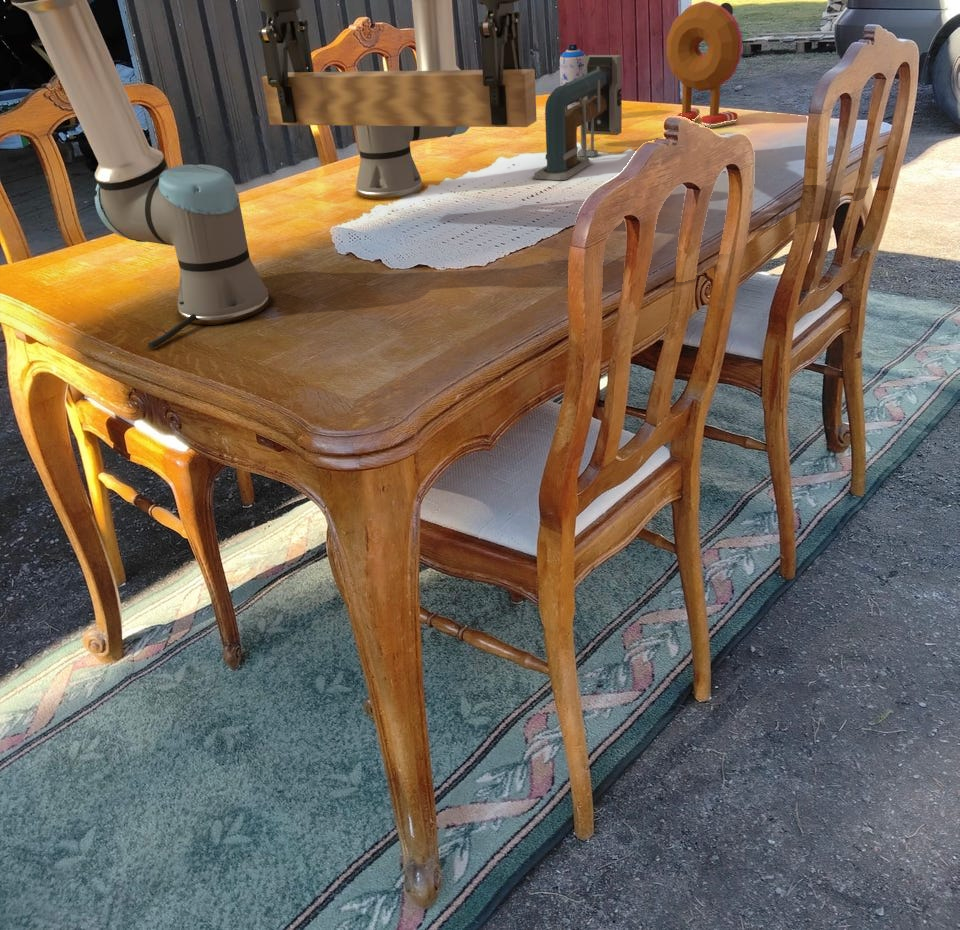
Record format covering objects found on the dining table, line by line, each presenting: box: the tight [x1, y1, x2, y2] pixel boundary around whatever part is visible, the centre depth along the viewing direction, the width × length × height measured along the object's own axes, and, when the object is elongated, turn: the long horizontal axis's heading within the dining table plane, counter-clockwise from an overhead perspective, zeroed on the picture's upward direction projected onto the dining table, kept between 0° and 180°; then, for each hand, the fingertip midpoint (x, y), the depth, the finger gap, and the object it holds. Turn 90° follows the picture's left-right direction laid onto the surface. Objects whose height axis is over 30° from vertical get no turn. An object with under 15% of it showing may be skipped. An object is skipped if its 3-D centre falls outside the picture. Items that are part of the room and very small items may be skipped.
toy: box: [665, 0, 743, 129], centre depth 253 cm, size 21×10×30 cm, turn 47°
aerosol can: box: [559, 43, 587, 109], centre depth 273 cm, size 8×8×20 cm
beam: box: [261, 68, 538, 128], centre depth 180 cm, size 54×5×9 cm, turn 68°
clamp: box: [532, 54, 623, 181], centre depth 230 cm, size 35×9×21 cm, turn 151°
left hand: (297, 118), depth 189 cm, fingers closed on beam, 5 cm apart
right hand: (505, 120), depth 174 cm, fingers closed on beam, 5 cm apart
